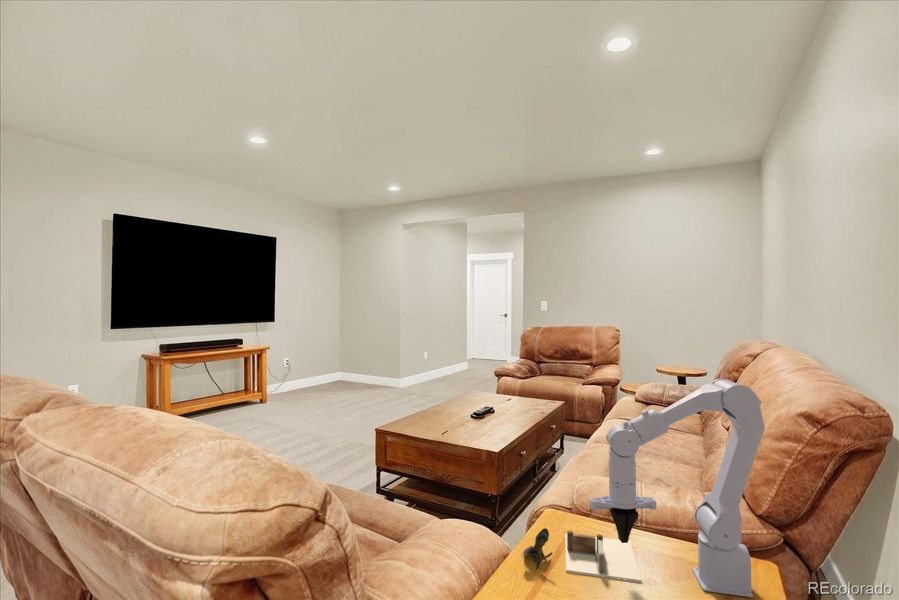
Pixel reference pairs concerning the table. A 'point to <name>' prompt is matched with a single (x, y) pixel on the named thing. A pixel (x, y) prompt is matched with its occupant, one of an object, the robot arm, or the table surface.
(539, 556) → the eagle figurine
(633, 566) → the card
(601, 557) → the fence panel
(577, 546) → the fence
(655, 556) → the table surface
